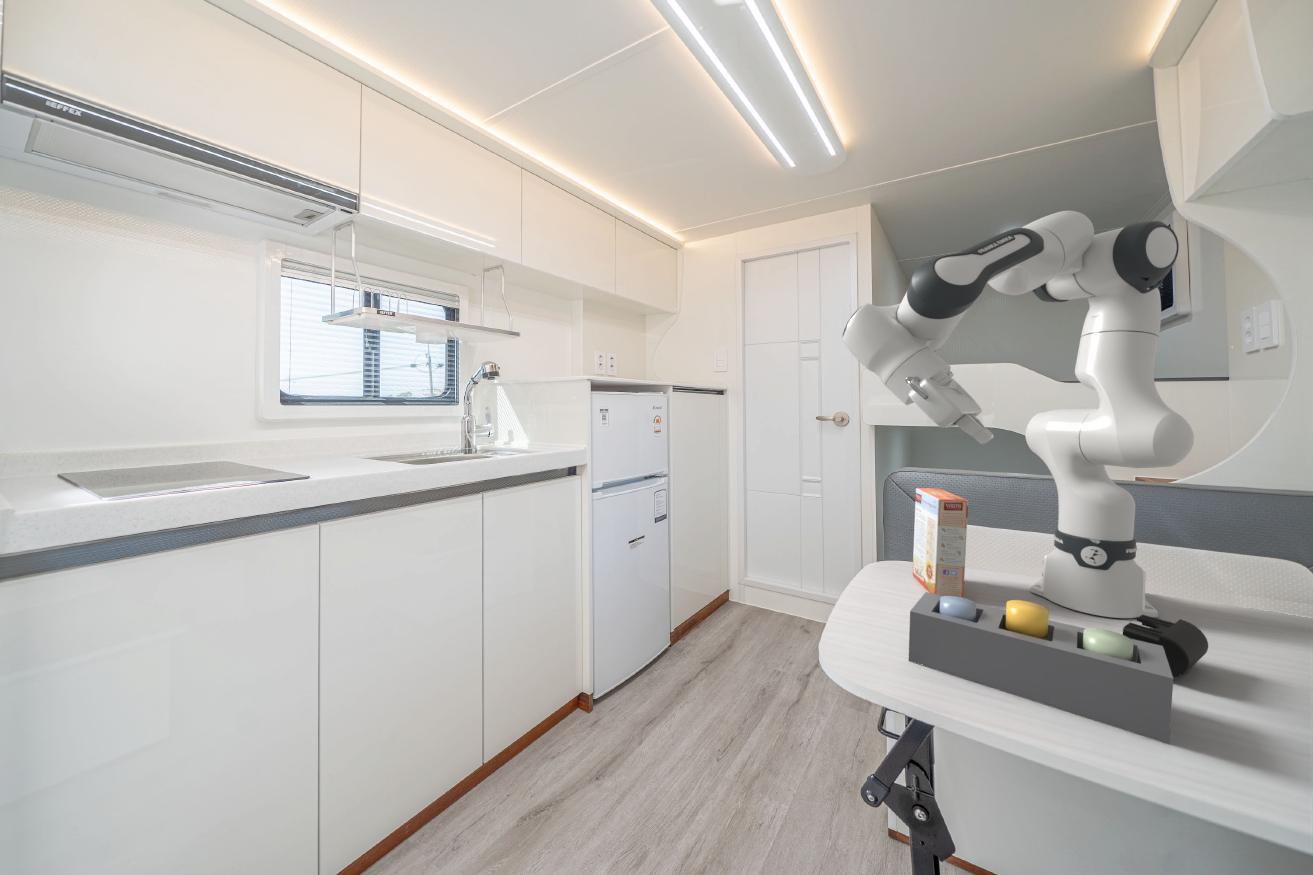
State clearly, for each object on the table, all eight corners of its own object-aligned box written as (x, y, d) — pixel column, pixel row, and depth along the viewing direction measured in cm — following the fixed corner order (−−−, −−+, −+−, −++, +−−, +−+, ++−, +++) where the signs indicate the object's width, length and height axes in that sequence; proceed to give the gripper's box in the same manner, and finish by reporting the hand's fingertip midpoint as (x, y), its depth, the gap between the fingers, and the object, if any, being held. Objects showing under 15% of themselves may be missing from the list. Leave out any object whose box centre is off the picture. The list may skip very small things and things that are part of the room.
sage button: (1082, 649, 67) (1083, 624, 67) (1130, 661, 64) (1132, 635, 63) (1082, 663, 63) (1083, 637, 63) (1133, 676, 60) (1135, 649, 60)
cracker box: (965, 601, 98) (969, 499, 96) (933, 598, 99) (936, 498, 97) (939, 576, 111) (943, 487, 110) (911, 575, 112) (914, 486, 111)
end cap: (1187, 690, 67) (1190, 643, 67) (1119, 666, 73) (1122, 623, 73) (1206, 670, 72) (1210, 626, 72) (1142, 649, 78) (1144, 609, 78)
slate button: (942, 614, 78) (943, 593, 78) (977, 622, 75) (978, 601, 75) (936, 624, 75) (936, 602, 74) (972, 634, 71) (973, 611, 71)
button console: (924, 637, 83) (925, 591, 82) (1158, 703, 64) (1162, 645, 63) (908, 660, 75) (910, 610, 75) (1168, 743, 57) (1173, 678, 56)
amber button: (1007, 619, 72) (1008, 597, 72) (1048, 629, 69) (1049, 606, 69) (1003, 631, 69) (1004, 607, 69) (1046, 642, 66) (1047, 617, 65)
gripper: (919, 361, 70) (998, 429, 65) (948, 368, 86) (1014, 424, 80) (886, 392, 74) (958, 460, 68) (920, 394, 89) (981, 449, 83)
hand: (988, 440), depth 74 cm, fingers closed
